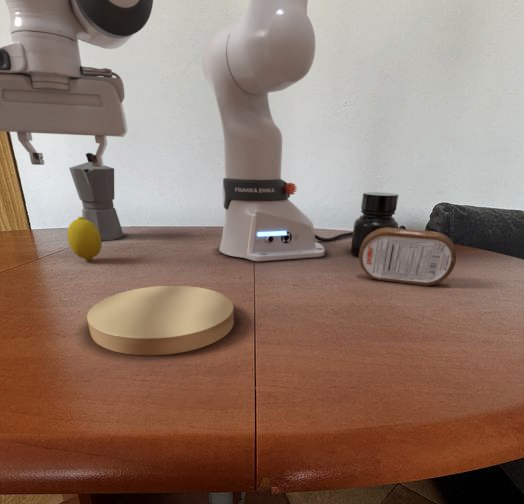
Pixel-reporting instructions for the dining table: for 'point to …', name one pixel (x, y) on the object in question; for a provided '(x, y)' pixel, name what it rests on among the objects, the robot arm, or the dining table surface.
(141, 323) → the birch disc
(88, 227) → the lemon
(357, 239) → the ink bottle
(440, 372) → the dining table surface
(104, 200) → the coffeepot
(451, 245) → the tin
